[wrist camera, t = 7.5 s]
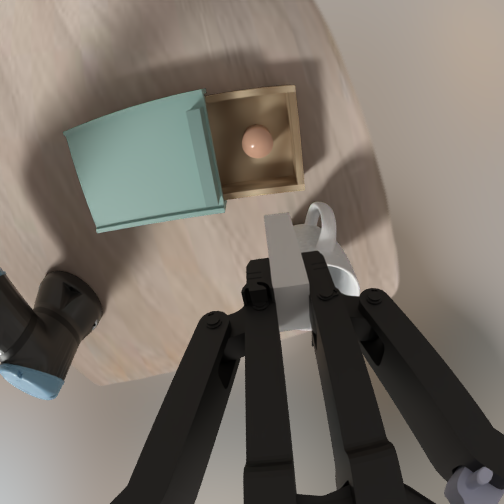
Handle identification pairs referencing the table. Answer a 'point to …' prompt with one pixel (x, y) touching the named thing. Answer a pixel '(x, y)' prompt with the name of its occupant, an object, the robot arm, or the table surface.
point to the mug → (327, 247)
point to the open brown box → (231, 133)
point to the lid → (148, 163)
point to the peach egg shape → (257, 141)
